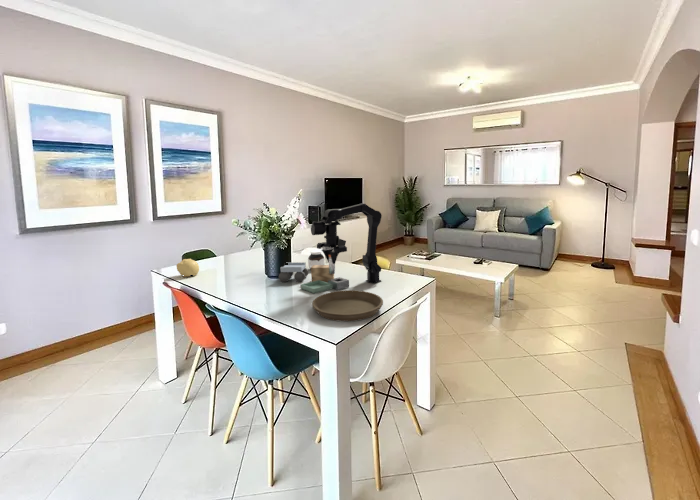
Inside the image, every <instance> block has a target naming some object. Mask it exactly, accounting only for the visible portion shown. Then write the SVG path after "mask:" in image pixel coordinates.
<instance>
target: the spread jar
mask: <svg viewBox="0 0 700 500" xmlns="http://www.w3.org/2000/svg"><path fill="white" fill-rule="evenodd" d="M307 264H308V267H309V269H310V270H311V267H312V266H313V265H326V264H325V255H323V254H322V250H320V249H318V250H315V249H314V250H311V251H310V254H309V256H308V259H307Z"/></svg>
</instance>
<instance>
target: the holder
mask: <svg viewBox="0 0 700 500" xmlns="http://www.w3.org/2000/svg"><path fill="white" fill-rule="evenodd" d="M328 283H330V284H333V289H332V290H334V291H342V290H344V289H348V288H350V279H346V278H343V277H341V276H340V277H334V279H330V280H328Z"/></svg>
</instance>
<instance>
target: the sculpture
mask: <svg viewBox="0 0 700 500" xmlns="http://www.w3.org/2000/svg"><path fill="white" fill-rule="evenodd" d="M176 270H177V272H178V273H179V274H180V276H181V275H184V276H182V277H183V278H187V277H191V276H190V275H193V276H192V277H194V276H195V277H196V276H197V275H198V274H199V272H200V266H199V264H198V263H197V260H194V259H192V258H184V259H182V260H181V261H180V262H178V263H177V264H176Z"/></svg>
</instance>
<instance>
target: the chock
mask: <svg viewBox="0 0 700 500" xmlns="http://www.w3.org/2000/svg"><path fill="white" fill-rule="evenodd" d="M310 274H311V282H313V281H317V280H321V281H324V282H327V283H328V280H330V279H335V274H329V264H325V265H313V266H312V267H311V269H310Z"/></svg>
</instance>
